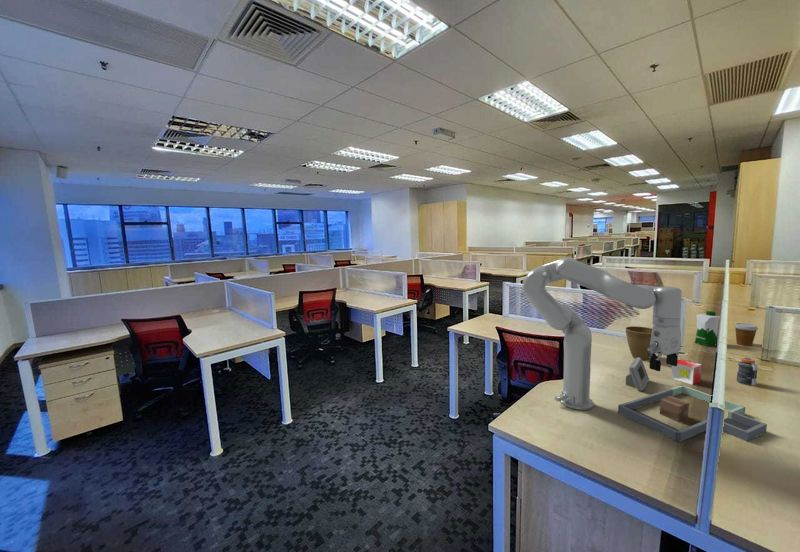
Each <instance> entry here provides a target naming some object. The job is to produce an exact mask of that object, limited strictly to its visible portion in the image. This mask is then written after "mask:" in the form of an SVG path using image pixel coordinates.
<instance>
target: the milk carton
mask: <svg viewBox="0 0 800 552" xmlns="http://www.w3.org/2000/svg"><path fill="white" fill-rule="evenodd" d="M695 317H696V322H697V323H696V334H695V340H694V343H695V344H697V343H698V345H701V346H705V347H707V346H708V347H713V346H712V345H715V344H716V346H718V334H719V332H718V331H719V324H720V319H721V316H720V315H716V311H714V310H713V311H711V310H706V311H705V313H699V314H696V315H695Z"/></svg>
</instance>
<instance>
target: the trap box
mask: <svg viewBox="0 0 800 552" xmlns="http://www.w3.org/2000/svg"><path fill="white" fill-rule="evenodd" d="M681 394H684V395H687V396H689V397H693V398H696V399H698V400H701V401H703V400H705V401H704V402H706V401H707V402H706V403H709V404H711V403H710V401H711V396H713V395H711V394H710V393H709V394H708V393H706V392H703V391H701V390H698V389H694V388H692V387H689V386H686V385H684V384H680V385H677V386H673V387H671V388H669V389H664V390H662V391H659V392H655V393H653V394H649V395H646V396H642V397H640V398H637V399H633V400H631V401H627V402H624V403H620V404H618V406H617V407H618V409H617V413H619V414H621V415H623V416H625V417H627V418H629V419H630V420H633V421H635V422H637V423H639V424H641V425H643V426H645V427H647V428H649V429H650V430H653V431H655V432H657V433H659V434H661V435H663V436H665V437H667V438H669V439H672V440H673V441H675V442H677V443H680V442H682V441H685V440H687V439H690V438H693V437H695V436H696V434H697V435H699V434H698V433H700V432H702V431H704V432H706V424H707V419H706V420H702V421H700V422H698V423H695V424H693V425H690V426H688V427H685V428H683V429H680V430H679V429H677V428H675V427H674V426H671V425H669V424H667V423H665V422H662V421H661V420H659V419H656V418H654V417H652V416H649V415H648V414H646V413H643V412H641V411H639V410H637V409H639V408H642V407H645V406H647V405H651V404H655V403H657V402H660V400H661V399H663V398H666V397H669V396H672V397H674V396H678V395H681ZM724 400H725V408H724V409H726V410H728V409H730V410H728V411H727V417H726V418H724V427H723V431H722V432H724V433H726V434H729V435H730V434H731V436H733V437H736V438H738V439H740V440H742V441H745V442H749V441H751V440H753V439H755V438H757V437H759V436H761V435H760V434H762V435H764V434H766V433H767V428H768V427H767V426H768V424H767V423H765V422H762V421H759V420H756V419H755V418H751V417H749V416H746V415H745V414H746V406H743V405H741V404H738V403H735V402H732V401H729V400H727V399H724ZM765 432H766V433H765ZM702 433H703V432H702ZM763 433H764V434H763ZM700 434H701V433H700ZM694 435H695V436H694ZM758 435H759V436H758ZM756 436H757V437H756ZM752 438H753V439H752Z"/></svg>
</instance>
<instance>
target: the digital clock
mask: <svg viewBox="0 0 800 552" xmlns="http://www.w3.org/2000/svg"><path fill="white" fill-rule="evenodd" d="M628 369H629V372H628V373H627V374H626V377H625V385H626V386H628V387H632V388H636V390H638V391H640V392H641V391H643V390H645V388H646V386H647V384H648V382H649V380H650V378H649V375H648V372H647V370H646V367H645V364H644V362H643V360H642V359H641V358H639V357H637V358H634V359H633V360H632V362H631V364H630V365H629V367H628Z"/></svg>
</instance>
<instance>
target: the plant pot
mask: <svg viewBox="0 0 800 552" xmlns="http://www.w3.org/2000/svg"><path fill="white" fill-rule="evenodd" d="M652 328H653V327H647V326H637V325H636V326H634V325H633V326H626V327H625V333H626V340H627V344H628V347H629V351H630V354H631V356H632V357H633V358H634V359H635V358H637V357H639V358H641V359H642V361H648V360H650V358H649V355H648V350H647V349H648V348H649V347H650V342H651V334H652Z"/></svg>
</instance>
